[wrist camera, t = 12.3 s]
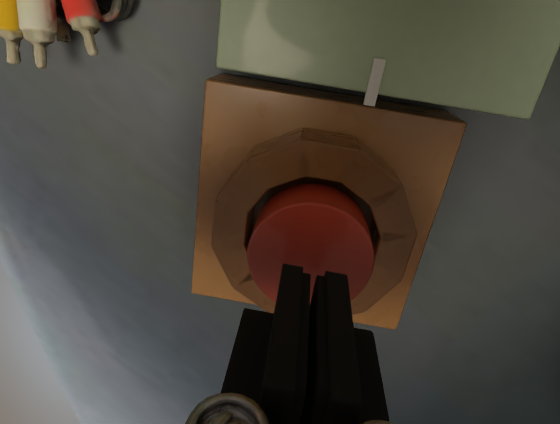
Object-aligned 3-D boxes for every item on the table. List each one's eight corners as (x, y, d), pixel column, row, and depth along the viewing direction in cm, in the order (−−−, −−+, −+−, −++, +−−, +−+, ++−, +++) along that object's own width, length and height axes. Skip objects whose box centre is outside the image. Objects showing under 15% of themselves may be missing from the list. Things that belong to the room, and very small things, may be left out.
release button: (262, 173, 13) (254, 192, 12) (381, 193, 13) (389, 215, 12) (248, 273, 15) (240, 301, 13) (354, 292, 15) (358, 322, 13)
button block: (219, 73, 16) (189, 84, 12) (449, 111, 15) (488, 135, 12) (204, 266, 19) (177, 320, 16) (388, 299, 19) (404, 361, 16)
